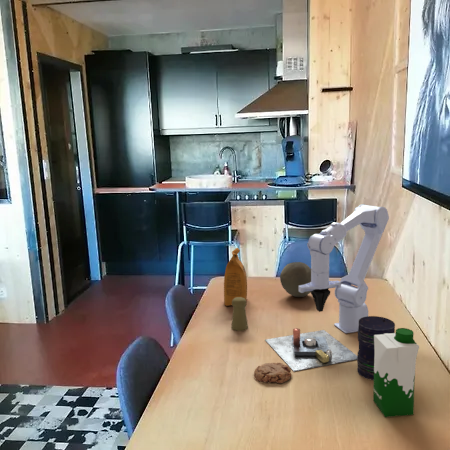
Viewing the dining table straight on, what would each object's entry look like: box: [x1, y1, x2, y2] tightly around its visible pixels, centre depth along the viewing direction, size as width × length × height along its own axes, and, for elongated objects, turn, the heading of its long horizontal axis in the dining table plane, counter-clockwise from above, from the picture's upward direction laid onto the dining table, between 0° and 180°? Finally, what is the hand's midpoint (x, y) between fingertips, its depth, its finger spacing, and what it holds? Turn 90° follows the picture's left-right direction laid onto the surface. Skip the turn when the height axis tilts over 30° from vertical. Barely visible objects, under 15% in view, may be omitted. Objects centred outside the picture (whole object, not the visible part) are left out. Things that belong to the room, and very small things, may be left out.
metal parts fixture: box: [292, 327, 329, 363], centre depth 141 cm, size 15×11×6 cm
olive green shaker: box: [231, 297, 249, 332], centre depth 161 cm, size 6×6×11 cm
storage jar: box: [356, 315, 396, 382], centre depth 127 cm, size 10×10×15 cm
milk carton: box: [372, 327, 420, 418], centre depth 110 cm, size 9×9×20 cm
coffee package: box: [223, 247, 248, 307], centre depth 185 cm, size 10×12×22 cm
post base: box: [264, 329, 358, 373], centre depth 143 cm, size 22×22×3 cm
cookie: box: [253, 362, 293, 384], centre depth 128 cm, size 10×11×3 cm
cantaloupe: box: [279, 261, 311, 298], centre depth 189 cm, size 14×14×15 cm
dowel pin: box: [326, 350, 332, 361], centre depth 136 cm, size 2×2×3 cm
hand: (319, 310), depth 149 cm, fingers closed
